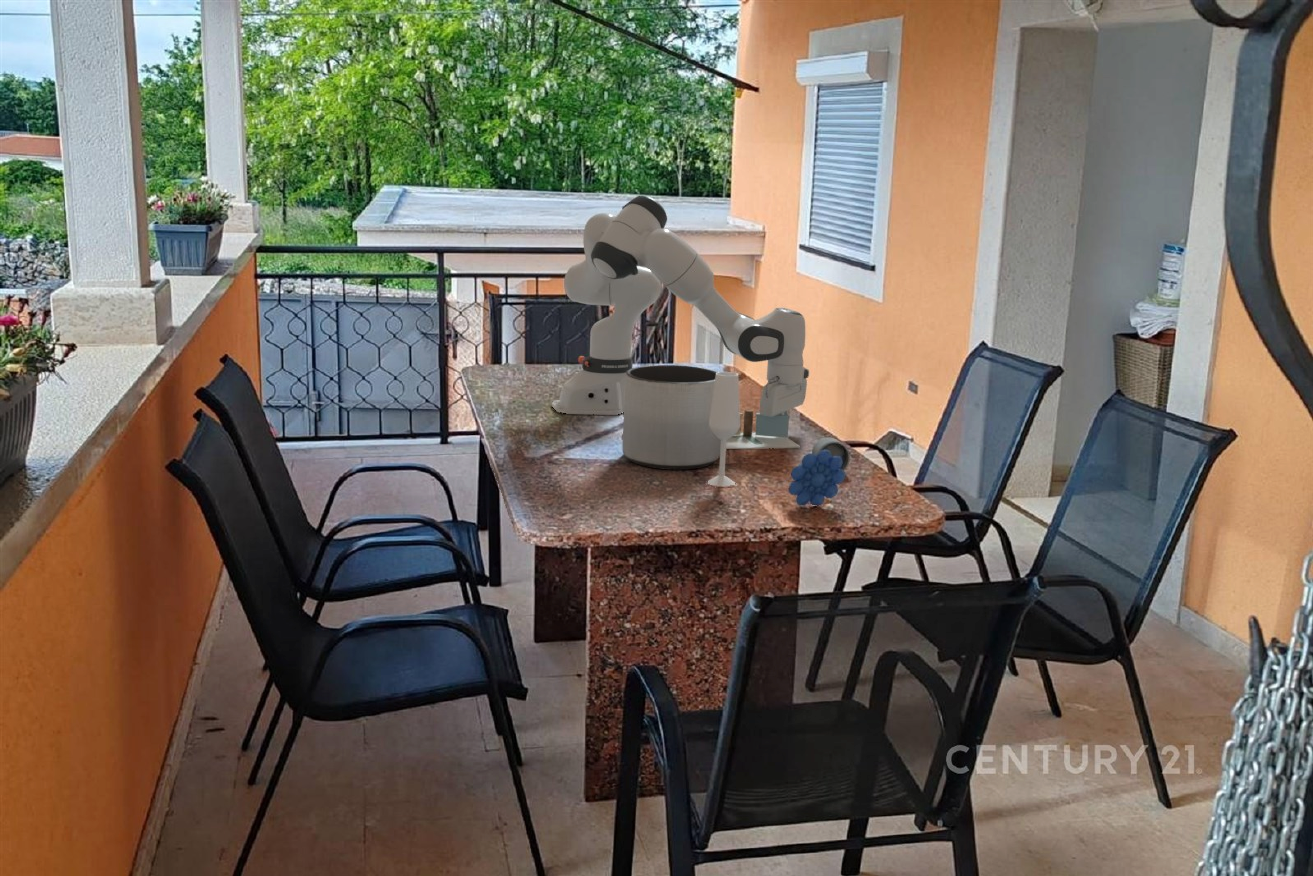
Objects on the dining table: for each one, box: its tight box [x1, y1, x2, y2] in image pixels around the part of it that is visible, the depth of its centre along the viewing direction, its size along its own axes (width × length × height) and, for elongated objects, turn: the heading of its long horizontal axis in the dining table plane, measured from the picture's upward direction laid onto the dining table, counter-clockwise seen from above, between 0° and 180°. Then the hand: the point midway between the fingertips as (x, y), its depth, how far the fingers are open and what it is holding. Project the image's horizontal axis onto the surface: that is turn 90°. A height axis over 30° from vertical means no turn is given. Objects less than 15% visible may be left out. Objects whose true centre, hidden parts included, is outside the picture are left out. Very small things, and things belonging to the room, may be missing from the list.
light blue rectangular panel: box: [755, 412, 791, 439], centre depth 304 cm, size 8×1×5 cm, turn 80°
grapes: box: [788, 450, 846, 507], centre depth 248 cm, size 12×7×12 cm, turn 99°
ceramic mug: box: [798, 436, 851, 472], centre depth 276 cm, size 11×8×8 cm
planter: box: [621, 364, 721, 470], centre depth 280 cm, size 23×23×20 cm
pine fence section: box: [734, 409, 754, 437], centre depth 303 cm, size 13×2×7 cm, turn 105°
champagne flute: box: [707, 371, 741, 486], centre depth 260 cm, size 7×7×24 cm
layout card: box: [726, 431, 801, 450], centre depth 301 cm, size 21×15×1 cm
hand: (780, 427), depth 307 cm, fingers closed
